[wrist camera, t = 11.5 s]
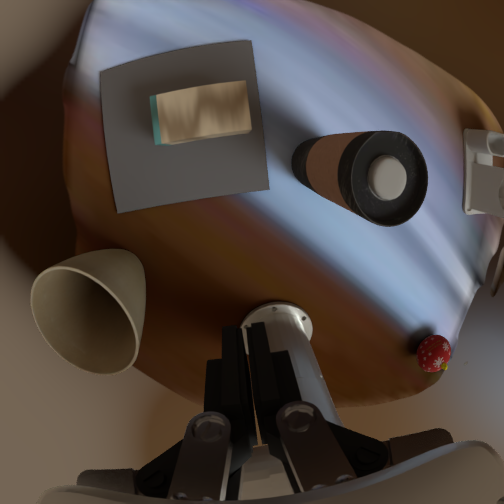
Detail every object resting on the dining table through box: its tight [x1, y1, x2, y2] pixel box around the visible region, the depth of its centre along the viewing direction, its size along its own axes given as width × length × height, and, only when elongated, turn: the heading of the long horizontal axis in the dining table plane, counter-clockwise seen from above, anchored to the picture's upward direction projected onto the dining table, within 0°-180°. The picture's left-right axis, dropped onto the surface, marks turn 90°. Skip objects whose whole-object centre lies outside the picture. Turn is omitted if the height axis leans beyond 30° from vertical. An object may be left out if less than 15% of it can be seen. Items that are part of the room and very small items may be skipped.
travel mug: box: [292, 131, 428, 227], centre depth 27 cm, size 8×8×20 cm
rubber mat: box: [100, 40, 270, 213], centre depth 33 cm, size 22×22×1 cm
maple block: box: [150, 80, 252, 146], centre depth 30 cm, size 6×6×11 cm
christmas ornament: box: [416, 335, 451, 372], centre depth 47 cm, size 9×9×10 cm
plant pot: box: [30, 249, 146, 376], centre depth 32 cm, size 15×15×16 cm
